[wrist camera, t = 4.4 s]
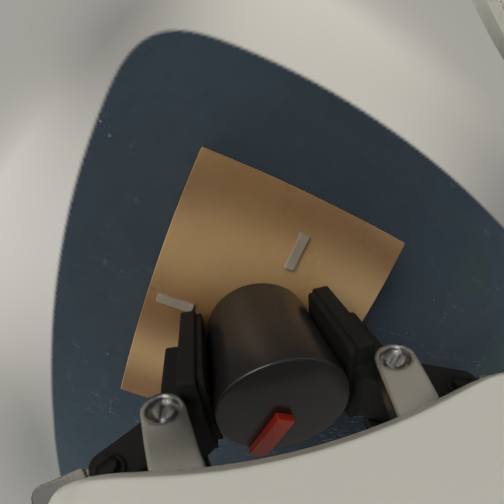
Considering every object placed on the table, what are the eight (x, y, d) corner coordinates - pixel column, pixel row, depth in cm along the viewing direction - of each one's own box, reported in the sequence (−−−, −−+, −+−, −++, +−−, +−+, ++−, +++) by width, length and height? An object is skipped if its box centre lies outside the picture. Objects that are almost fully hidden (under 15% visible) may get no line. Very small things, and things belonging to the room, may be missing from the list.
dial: (230, 267, 11) (251, 351, 6) (323, 299, 12) (380, 377, 7) (193, 352, 12) (195, 448, 7) (279, 373, 13) (310, 458, 8)
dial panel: (201, 147, 12) (201, 146, 9) (371, 225, 15) (407, 244, 12) (130, 351, 15) (119, 391, 12) (278, 389, 17) (290, 427, 14)
